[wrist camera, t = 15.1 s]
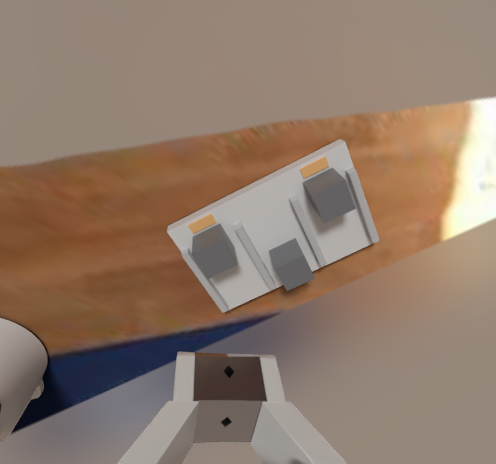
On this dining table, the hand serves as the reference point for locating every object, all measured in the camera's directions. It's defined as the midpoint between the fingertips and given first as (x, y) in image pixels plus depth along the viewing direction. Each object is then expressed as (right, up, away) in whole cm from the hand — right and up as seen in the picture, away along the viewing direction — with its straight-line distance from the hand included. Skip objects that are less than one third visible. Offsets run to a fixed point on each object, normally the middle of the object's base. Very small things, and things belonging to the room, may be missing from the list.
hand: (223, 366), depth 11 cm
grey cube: (+9, +9, +28) cm, 31 cm away
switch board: (+4, +4, +32) cm, 32 cm away
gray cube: (-3, +3, +30) cm, 30 cm away
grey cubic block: (+6, +1, +32) cm, 32 cm away
